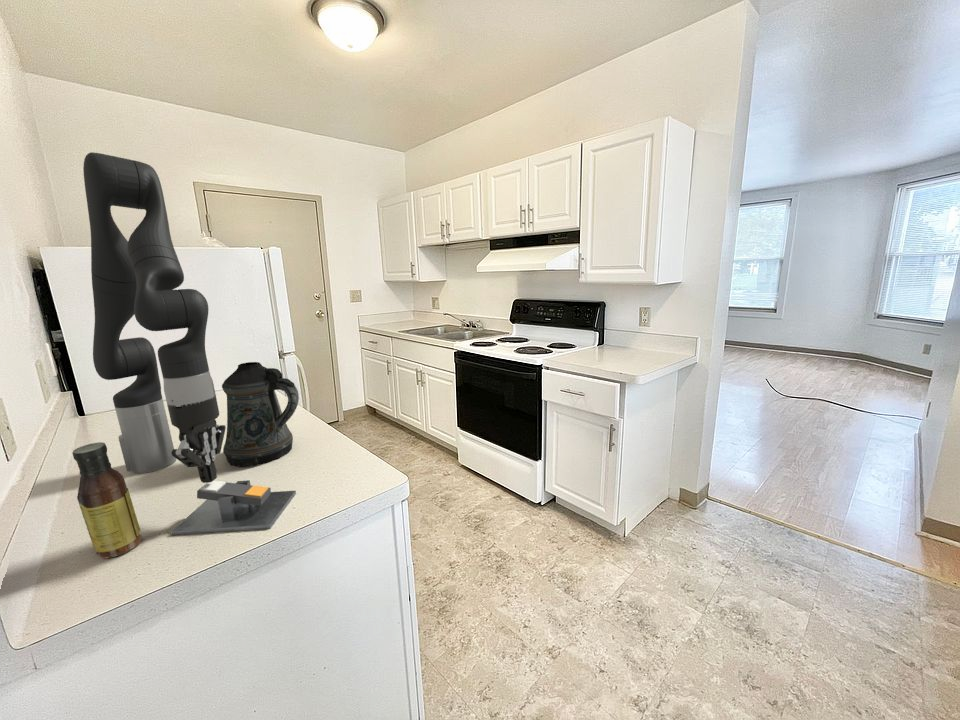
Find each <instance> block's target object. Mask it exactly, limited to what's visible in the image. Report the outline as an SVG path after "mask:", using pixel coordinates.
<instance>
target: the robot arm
mask: <svg viewBox="0 0 960 720" xmlns="http://www.w3.org/2000/svg"><path fill="white" fill-rule="evenodd" d="M82 168H83V181H84V191H85V198H86V204H87V205H86V206H87V212H88V220H89V228H90V249H91V250H90V252H91V253H90V255H91V257H90V259H91V260H90V261H91V262H90V267H91V269H90V270H91V271H90V272H91V287H92V296H93V297H92V298H93V307H94V308H93V309H94V310H93V311H94V327H93V328H94V329H93V340H92V341H93V343H92V361H93V364H94V365H93V367H94V368H95V372H96V374H97V375H98V376H99V377H100V378H101V379H103V380H107V381H110V380H111V381H113V380H120V379H125V378H126V379H127V378H130V377H136V379H135V380H134V381H133V382H132V383H131V384H130V385H129V386H127V387H125V388H123V389H122V390H120V391H118V392H116V393H115V394H114V395H113V397H112V402H113V405H114V409H115V413H116V416H117V417H116V419H117V420H118V425H119V429H120V432H121V434H120V435H118V437H117V438H118V442H119V445H120V450H121V454H122V457H123V462H124V465H125V469H126V471H127V472H131V473H134V474H144V473H145V474H146V473H152V472H154V471H157V470H161V469H163V468H166V467H168V466H170V465H172V464H174V463H175V462H176V461H177V460H178V461H179V462H180V463H182V465H184V466H186V467H187V468H197V470H198V476H199V480H200V482H201V483H204V484H206V483H209V482H212V481H216V479H217V478H218V476H217V469H216V463H215V461H216V459H217V455H219V454H221V451H222V445H223V442H224V438H225V433H226V430H227V426H226V425H225V424H221V425H219V424H218V423H217V420H216V419H218V417H219V416H220V410H219V405H218V401H217V394H216V390H215V385H214V380H213V378H212V376H211V372H210V367H209V363H208V359H207V353H206V334H207V333H206V331H207V325H208V319H209V303H208V301H207V299H206V297H205V296H204V294H203V293H201V292H200V291H199V290H197V289H194V288H183V289H182V288H181V289H180V288H179V287H180V286H181V285H182V284H183V283H184V281H185V274H184V271H183V268H182V265H181V263H180V261H179V258H178V255H177V253H176V250H175V247H174V243H173V240H172V237H171V236H172V235H171V230H170V225H169V219H168V213H167V208H166V202H165V196H164V191H163V187H162V184H161V180H160V177H159V175H158V173H157V171H156V170H155V168H154V167H153V166H152V165H150V164H148V163H145V162H142V161H139V160H133V159H130V158H124V157H121V156H120V157H119V156H114V155H110V154H104V153H100V152H93V151H92V152H89V153H87V154H86V155H85V157H84V160H83V167H82ZM111 207H121V208H127V209H135V210H145V215H144V216H143V218H142V220H141V221H140V222H139V224H138V225H137V226H136V228H135V229H133V231H132V233H131V234H130V236H129V238H128V239H127V238H126V237H125V236H124V234H123V232H122V231H121V230H120V228H119V227H118V225H117V224H116V222H115V221H114V217H113V215H112V211H111ZM177 288H179V289H177ZM133 317H135V319H136V322H137V324H139V325H140V326H141V327H143V328H144V329H145V330H147V331H150V332H163V331H164V332H165V331H172V330H173V331H174V330H181V329H182V330H183V329H187V330H186V331H187V332H186V333H185V336H183V337H182V338H181V339H178V340H175V341H172V342H168V343H165V344H163V345H161V346H160V347H159V348H158V349H157V355H156V352H155V348H154V346H153V344H152V342H151V341H150V340H149V339H147V338H145V337H142V336H141V337H132V338H131V337H130V338H123V339H120V336H121V335H122V331H123V330H124V327H125V326H126V325H127V324H128V323H129V321H130V320H131V319H132V318H133ZM157 357H158V362H159V366H160V370H161V375H162V379H163V381H162V382H163V392H164V396H165V401H166V405H167V410H168V414H169V419H170V423H171V425H172V426H174V427H175V428H177V429H178V431H179V432H178V434H179V435H178V440H179V442H180V443H179V445H178V447H177V448H174V442H173V438H172V434H171V430H170V429H171V428H170V424H169V422H168V421H169V420H168V416H167V412H166V408H165V404H164V399H163V398H164V397H163V395H162V385H161V380H160V373H159V367H158V362H157Z"/></svg>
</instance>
